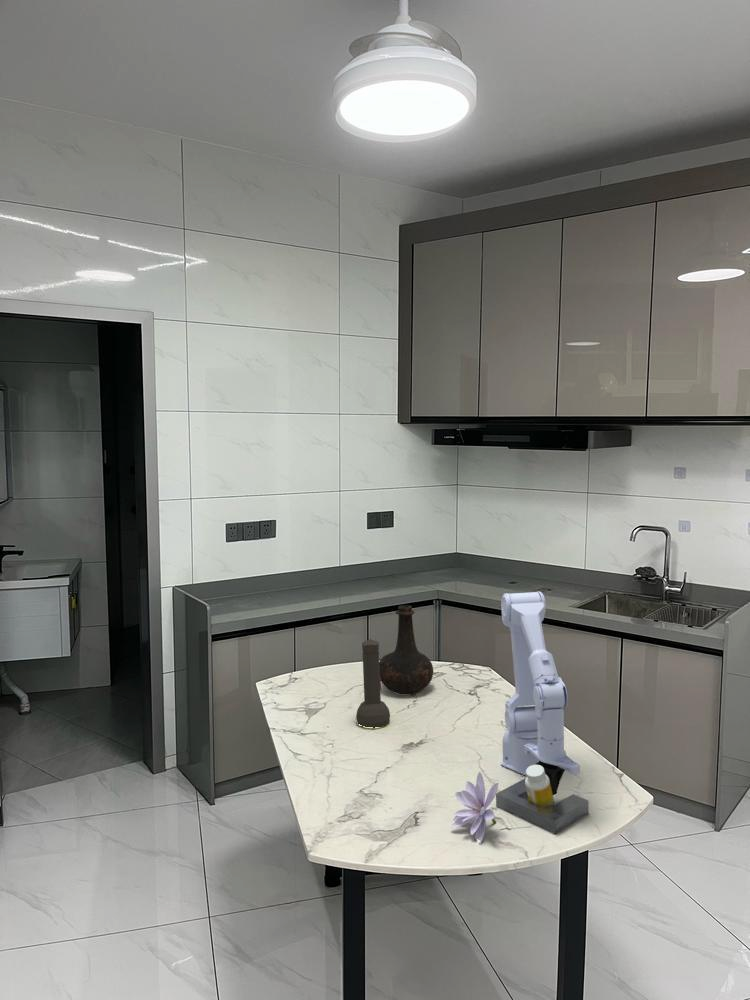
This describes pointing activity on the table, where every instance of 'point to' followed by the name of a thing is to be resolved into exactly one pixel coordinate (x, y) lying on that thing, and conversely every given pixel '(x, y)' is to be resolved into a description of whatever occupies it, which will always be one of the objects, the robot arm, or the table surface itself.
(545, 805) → the supplement bottle
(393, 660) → the glass bottle
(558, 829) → the grey u-shaped block
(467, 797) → the water lily
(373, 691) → the flashlight
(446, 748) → the table surface
